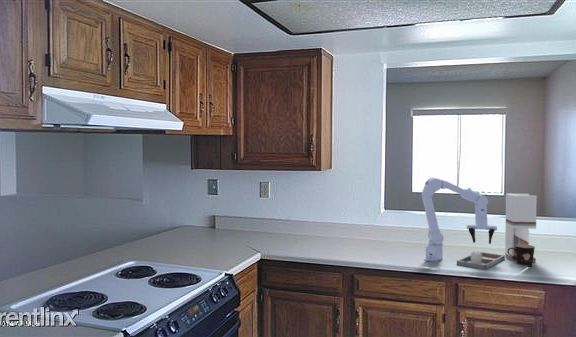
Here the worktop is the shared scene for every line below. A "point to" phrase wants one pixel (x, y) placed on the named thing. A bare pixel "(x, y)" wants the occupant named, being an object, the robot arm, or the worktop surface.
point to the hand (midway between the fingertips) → (482, 242)
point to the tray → (487, 261)
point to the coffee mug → (524, 254)
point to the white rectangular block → (476, 257)
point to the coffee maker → (519, 221)
